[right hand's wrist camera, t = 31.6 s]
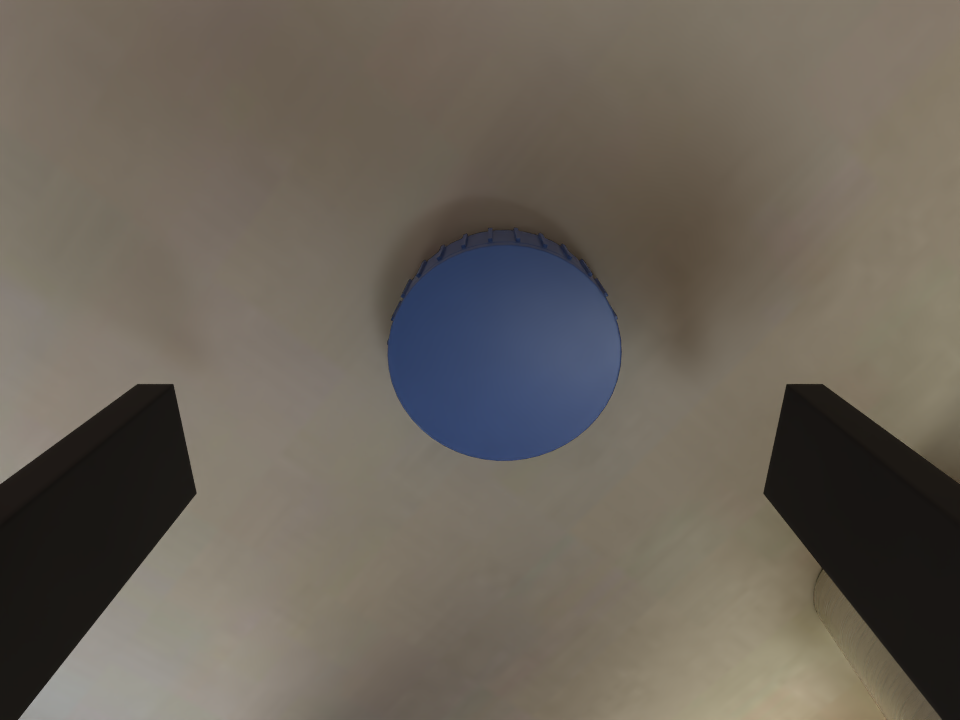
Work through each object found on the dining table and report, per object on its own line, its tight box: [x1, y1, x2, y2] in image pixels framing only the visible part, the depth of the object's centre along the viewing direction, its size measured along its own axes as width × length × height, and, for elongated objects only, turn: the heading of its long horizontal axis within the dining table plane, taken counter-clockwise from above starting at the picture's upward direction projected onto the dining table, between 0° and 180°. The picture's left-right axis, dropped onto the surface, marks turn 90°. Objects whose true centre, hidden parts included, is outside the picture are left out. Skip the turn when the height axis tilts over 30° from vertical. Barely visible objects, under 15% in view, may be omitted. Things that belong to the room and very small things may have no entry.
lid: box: [387, 228, 622, 461], centre depth 16 cm, size 6×6×2 cm
